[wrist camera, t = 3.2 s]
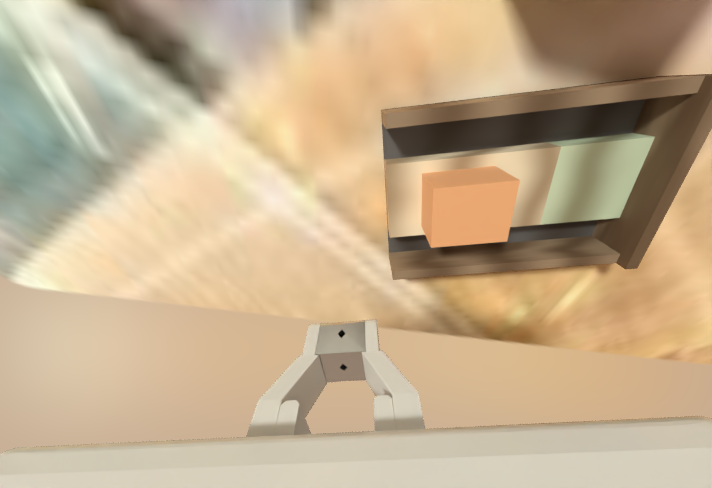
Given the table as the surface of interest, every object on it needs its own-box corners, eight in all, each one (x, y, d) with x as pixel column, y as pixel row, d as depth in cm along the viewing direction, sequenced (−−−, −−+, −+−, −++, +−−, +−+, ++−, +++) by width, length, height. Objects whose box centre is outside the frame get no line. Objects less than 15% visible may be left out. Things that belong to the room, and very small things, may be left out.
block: (494, 165, 22) (520, 180, 18) (486, 219, 24) (506, 241, 21) (422, 173, 22) (433, 188, 19) (421, 225, 25) (430, 247, 21)
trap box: (661, 76, 21) (741, 72, 16) (595, 240, 28) (637, 268, 24) (381, 109, 22) (386, 115, 18) (389, 257, 30) (394, 286, 25)
